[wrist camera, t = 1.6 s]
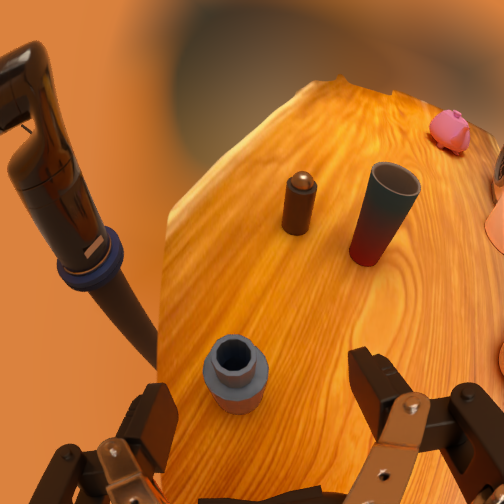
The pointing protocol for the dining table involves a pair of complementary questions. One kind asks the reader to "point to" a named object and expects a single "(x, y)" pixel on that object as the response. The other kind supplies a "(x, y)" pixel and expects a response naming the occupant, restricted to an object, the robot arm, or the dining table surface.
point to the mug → (501, 359)
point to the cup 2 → (496, 225)
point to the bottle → (236, 374)
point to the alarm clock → (498, 178)
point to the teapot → (450, 131)
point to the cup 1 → (382, 211)
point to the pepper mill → (298, 203)
